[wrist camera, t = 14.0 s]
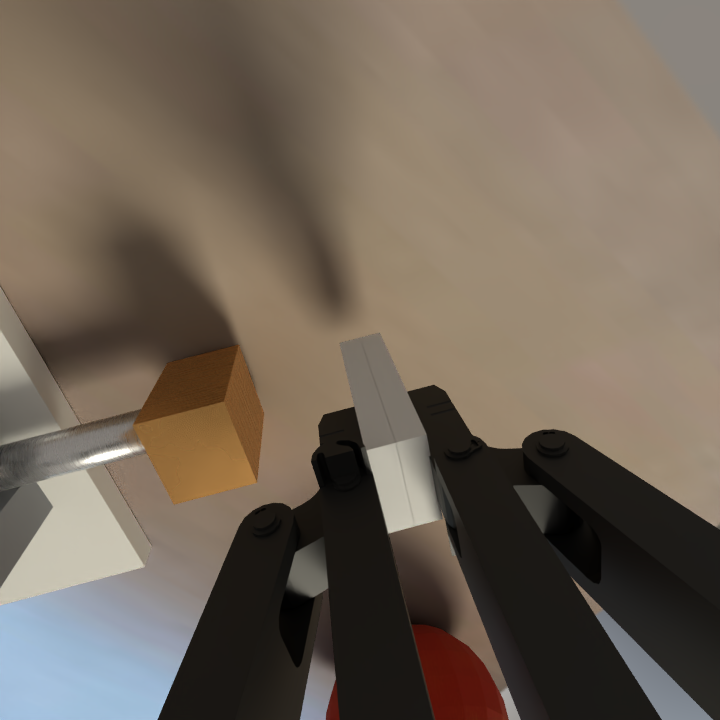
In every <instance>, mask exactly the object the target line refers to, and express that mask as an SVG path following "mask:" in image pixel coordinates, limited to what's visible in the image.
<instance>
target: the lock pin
mask: <svg viewBox="0 0 720 720" xmlns="http://www.w3.org/2000/svg"><path fill="white" fill-rule="evenodd" d="M263 419H264V412H263V409H262V406H261V404H260V401H259V398H258V395H257V393H256V390H255V387H254V385H253V382H252V379H251V376H250V374H249V371H248V368H247V366H246V363H245V360H244V357H243V355H242V352H241V349H240V347H239V345H236V346H232V347H228V348H224V349H220V350H216V351H212V352H208V353H204V354H200V355H197V356H193V357H189V358H185V359H181V360H177V361H173V362H169V363H167V365H166V367H165V368H164V370H163V372H162V374H161V375H160V377H159V379H158V381H157V383H156V384H155V386H154V388H153V390H152V391H151V393H150V395H149V397H148V398H147V400H146V402H145V404H144V406H143V407H142V409H139V410H135V411H131V412H127V413H124V414H120V415H116V416H112V417H108V418H104V419H100V420H96V421H93V422H89V423H85V424H81V425H77V426H73V427H69V428H65V429H62V430H58V431H54V432H50V433H46V434H42V435H38V436H34V437H31V438H27V439H23V440H19V441H15V442H11V443H7V444H3V445H0V491H4V490H8V489H12V488H16V487H20V486H23V485H27V484H31V483H35V482H39V481H43V480H46V479H50V478H54V477H58V476H62V475H66V474H69V473H73V472H77V471H81V470H85V469H89V468H93V467H96V466H100V465H104V464H108V463H112V462H116V461H119V460H123V459H127V458H131V457H135V456H139V455H142V454H146V453H147V454H148V456H149V458H150V460H151V462H152V464H153V466H154V467H155V469H156V471H157V473H158V475H159V477H160V479H161V481H162V483H163V485H164V486H165V488H166V490H167V492H168V494H169V496H170V498H171V500H172V502H173V504H178V503H182V502H186V501H189V500H193V499H197V498H201V497H205V496H208V495H212V494H216V493H220V492H224V491H227V490H231V489H235V488H239V487H242V486H246V485H250V484H254V483H257V478H258V468H259V458H260V449H261V439H262V429H263Z"/></svg>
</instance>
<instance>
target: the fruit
mask: <svg viewBox="0 0 720 720" xmlns="http://www.w3.org/2000/svg"><path fill="white" fill-rule="evenodd" d="M412 629H413V633H414V637H415V641H416V645H417V649H418V653H419V657H420V661H421V665H422V669H423V673H424V677H425V681H426V685H427V689H428V693H429V697H430V701H431V705H432V709H433V713H434V717H435V720H509V719H508V715H507V712H506V708H505V704H504V700H503V698H502V696H501V694H500V692H499V690H498V688H497V686H496V684H495V683H494V681H493V679H492V677H491V675H490V673H489V672H488V670H487V668H486V667H485V665H484V663H483V662H482V661H481V660H480V659H479V658H478V656H477V655H476V654H475V653H474V652H473V651H472V650H471V649H470V648H469V646H467V645H466V644H464V643H462V642H461V641H459V640H458V639H456V638H455V637H453V636H451V635H450V634H448V633H447V632H445V631H443V630H442V629H440V628H436V627H432V626H428V625H412ZM326 720H339V709H338V697H337V685H336V681H335V684H334V687H333V691H332V694H331V697H330V701H329V705H328V709H327V712H326Z"/></svg>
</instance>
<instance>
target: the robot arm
mask: <svg viewBox="0 0 720 720" xmlns="http://www.w3.org/2000/svg"><path fill="white" fill-rule="evenodd" d="M340 347H341V351H342V356H343V360H344V364H345V368H346V372H347V377H348V381H349V385H350V389H351V394H352V398H353V402H354V406H355V407H351V408H347V409H344V410H340V411H336V412H332V413H328V414H324V415H323V417H322V419H321V421H320V423H319V425H318V428H319V437H320V438H319V439H320V447H318V448H317V449H316V451H315V452H314V453H313V455H312V459H311V463H312V466H313V469H314V472H315V475H316V478H317V481H318V484H319V487H320V489H319V491H318V492H317V493H316V495H314V496H313V497H312V498H311V499H310V500H308V501H307V502H305V503H304V504H302V505H300V506H298V507H296V508H295V509H293V510H291V508H290V507H289V506H287V505H285V504H283V503H271V504H267V505H263V506H261V507H259V508H257V509H255V510H253V511H252V512H251V513H250V514H248V515H247V516H246V517H245V518H244V520H243V521H242V523H241V524H240V526H239V528H238V530H237V533H236V535H235V537H234V540H233V542H232V544H231V547H230V549H229V552H228V554H227V556H226V559H225V561H224V563H223V566H222V568H221V571H220V573H219V575H218V578H217V580H216V582H215V585H214V587H213V589H212V592H211V594H210V597H209V599H208V601H207V604H206V606H205V608H204V611H203V613H202V616H201V618H200V620H199V623H198V625H197V627H196V630H195V632H194V635H193V637H192V639H191V642H190V644H189V646H188V649H187V651H186V653H185V656H184V658H183V661H182V663H181V665H180V668H179V670H178V672H177V675H176V677H175V680H174V682H173V684H172V687H171V689H170V691H169V694H168V696H167V699H166V701H165V703H164V706H163V708H162V710H161V713H160V715H159V718H158V720H300V716H301V711H302V705H303V700H304V695H305V689H306V684H307V679H308V673H309V668H310V663H311V657H312V652H313V647H314V641H315V636H316V631H317V625H318V620H319V615H320V609H321V604H322V599H323V595H322V592H323V591H325V590H326V589H328V590H329V602H330V614H331V626H332V638H333V649H334V661H335V673H336V685H337V697H338V709H339V720H435V717H434V713H433V709H432V705H431V701H430V697H429V693H428V689H427V685H426V681H425V677H424V673H423V669H422V665H421V661H420V657H419V653H418V649H417V645H416V641H415V637H414V633H413V629H412V625H411V621H410V617H409V613H408V609H407V605H406V601H405V597H404V593H403V589H402V585H401V581H400V577H399V573H398V569H397V565H396V561H395V557H394V553H393V549H392V545H391V542H390V538H389V534H388V533H392V532H395V531H399V530H403V529H407V528H410V527H414V526H418V525H422V524H425V523H429V522H433V521H437V520H440V519H443V518H442V513H443V515H444V518H445V521H446V526H447V532H448V537H449V542H450V548H451V553H452V556H454V555H456V556H457V559H458V561H459V564H460V566H461V569H462V571H463V574H464V576H465V579H466V582H467V584H468V587H469V589H470V592H471V594H472V597H473V599H474V602H475V604H476V607H477V610H478V612H479V615H480V617H481V620H482V622H483V625H484V627H485V630H486V632H487V635H488V637H489V640H490V643H491V645H492V648H493V650H494V653H495V655H496V658H497V660H498V663H499V665H500V668H501V671H502V673H503V676H504V678H505V681H506V683H507V686H508V688H509V691H510V693H511V696H512V698H513V701H514V704H515V706H516V709H517V711H518V714H519V716H520V719H521V720H662V719H661V718H660V716H659V715H658V713H657V712H656V710H655V708H654V707H653V705H652V704H651V702H650V701H649V699H648V697H647V696H646V694H645V693H644V691H643V690H642V688H641V687H640V685H639V683H638V682H637V680H636V679H635V677H634V676H633V674H632V672H631V671H630V670H629V668H628V666H627V665H626V663H625V661H624V660H623V658H622V657H621V655H620V654H619V652H618V650H617V649H616V648H615V646H614V644H613V643H612V641H611V639H610V638H609V636H608V635H607V633H606V632H605V630H604V628H603V627H602V625H601V624H600V622H599V621H598V619H597V618H596V616H595V614H594V613H593V611H592V610H591V608H590V606H589V605H588V603H587V602H586V600H585V599H584V597H583V595H582V594H581V592H580V591H579V589H578V588H577V586H576V584H575V583H574V581H573V580H572V578H573V579H574V580H575V581H576V582H577V583H578V584H579V585H580V586H581V587H582V588H583V589H584V590H585V591H586V592H587V593H588V594H589V595H590V596H591V597H592V598H593V599H594V600H595V601H596V602H597V603H598V604H599V605H600V606H601V607H602V608H603V609H604V610H605V611H606V612H607V613H608V614H609V615H610V616H611V617H612V618H613V619H614V620H615V621H616V622H617V623H618V624H619V625H620V626H621V627H622V628H623V629H624V630H625V631H626V632H627V633H628V634H629V635H630V636H631V637H632V638H633V639H634V640H635V641H636V642H637V644H638V645H640V646H641V647H642V648H643V650H644V651H645V652H646V653H647V654H648V655H649V656H650V657H651V658H652V659H653V660H654V661H655V662H656V663H658V665H659V666H660V667H661V668H662V669H663V670H664V671H665V672H667V674H668V675H669V676H670V677H671V678H672V679H673V680H674V681H675V682H676V683H677V684H678V685H679V686H680V687H681V688H682V689H683V690H684V691H685V692H686V693H687V694H688V695H689V696H690V697H691V698H692V699H693V700H694V701H695V702H696V703H697V704H698V705H699V706H700V707H701V708H702V709H703V710H704V711H705V712H706V713H707V714H708V715H709V716H710V717H711V718H712V719H713V720H720V530H719V529H718V528H716V527H715V526H713V525H712V524H710V523H709V522H707V521H705V520H704V519H702V518H701V517H699V516H698V515H696V514H695V513H693V512H692V511H690V510H688V509H687V508H685V507H684V506H682V505H681V504H679V503H678V502H676V501H675V500H673V499H672V498H670V497H668V496H667V495H665V494H664V493H662V492H661V491H659V490H658V489H656V488H655V487H653V486H651V485H650V484H648V483H647V482H645V481H644V480H642V479H641V478H639V477H638V476H636V475H635V474H633V473H631V472H630V471H628V470H627V469H625V468H624V467H622V466H621V465H619V464H618V463H616V462H614V461H613V460H611V459H610V458H608V457H607V456H605V455H604V454H602V453H601V452H599V451H598V450H596V449H594V448H593V447H591V446H590V445H588V444H587V443H585V442H584V441H582V440H581V439H579V438H578V437H576V436H574V435H572V434H570V433H568V432H565V431H560V430H554V429H552V430H541V431H537V432H534V433H532V434H530V435H529V436H527V437H526V438H525V439H524V441H523V443H522V448H517V449H497V448H492V447H488V446H487V445H486V443H485V442H484V441H482V440H481V439H480V438H478V437H476V436H473V435H472V434H471V432H470V431H469V429H468V427H467V426H466V424H465V423H464V421H463V419H462V418H461V416H460V414H459V413H458V411H457V410H456V409H455V406H454V405H453V403H452V402H451V400H450V398H449V397H448V395H447V393H446V392H445V391H444V390H442V389H440V388H439V387H437V386H435V385H431V386H427V387H424V388H420V389H416V390H412V391H408V392H407V391H406V389H405V386H404V384H403V382H402V380H401V378H400V376H399V373H398V371H397V369H396V367H395V365H394V363H393V360H392V358H391V356H390V354H389V352H388V349H387V347H386V345H385V343H384V341H383V339H382V336H381V334H380V333H376V334H372V335H368V336H365V337H361V338H357V339H353V340H349V341H345V342H341V343H340ZM441 510H442V513H441ZM570 576H571V577H572V578H571V577H570Z"/></svg>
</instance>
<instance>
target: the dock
mask: <svg viewBox="0 0 720 720" xmlns="http://www.w3.org/2000/svg"><path fill="white" fill-rule="evenodd" d="M77 425H81V424H80V422H79V421H78V419H77V417H76V415H75V414H74V412H73V410H72V409H71V407H70V405H69V403H68V402H67V400H66V398H65V397H64V395H63V393H62V391H61V390H60V388H59V386H58V385H57V383H56V381H55V379H54V378H53V376H52V374H51V373H50V371H49V369H48V367H47V366H46V364H45V362H44V361H43V359H42V357H41V355H40V354H39V352H38V350H37V349H36V347H35V345H34V343H33V342H32V340H31V338H30V337H29V335H28V333H27V331H26V330H25V328H24V326H23V325H22V323H21V321H20V319H19V318H18V316H17V314H16V313H15V311H14V309H13V307H12V306H11V304H10V302H9V301H8V299H7V297H6V295H5V294H4V292H3V290H2V289H1V287H0V445H3V444H7V443H11V442H15V441H19V440H23V439H27V438H31V437H34V436H38V435H42V434H46V433H50V432H54V431H58V430H62V429H65V428H69V427H73V426H77ZM151 548H152V546H151V544H150V542H149V541H148V539H147V537H146V535H145V534H144V532H143V530H142V529H141V527H140V525H139V523H138V522H137V520H136V518H135V517H134V515H133V513H132V511H131V510H130V508H129V506H128V505H127V503H126V501H125V499H124V498H123V496H122V494H121V493H120V491H119V489H118V487H117V486H116V484H115V482H114V481H113V479H112V477H111V475H110V474H109V472H108V470H107V469H106V467H105V465H100V466H96V467H93V468H89V469H85V470H81V471H77V472H73V473H69V474H66V475H62V476H58V477H54V478H50V479H46V480H43V481H39V482H35V483H31V484H27V485H23V486H20V487H16V488H12V489H8V490H4V491H0V605H3V604H7V603H11V602H15V601H18V600H22V599H26V598H30V597H33V596H37V595H41V594H45V593H48V592H52V591H56V590H60V589H63V588H67V587H71V586H75V585H79V584H82V583H86V582H90V581H94V580H97V579H101V578H105V577H109V576H112V575H116V574H120V573H124V572H127V571H131V570H135V569H139V568H142V567H145V565H146V562H147V559H148V556H149V553H150V550H151Z"/></svg>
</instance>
